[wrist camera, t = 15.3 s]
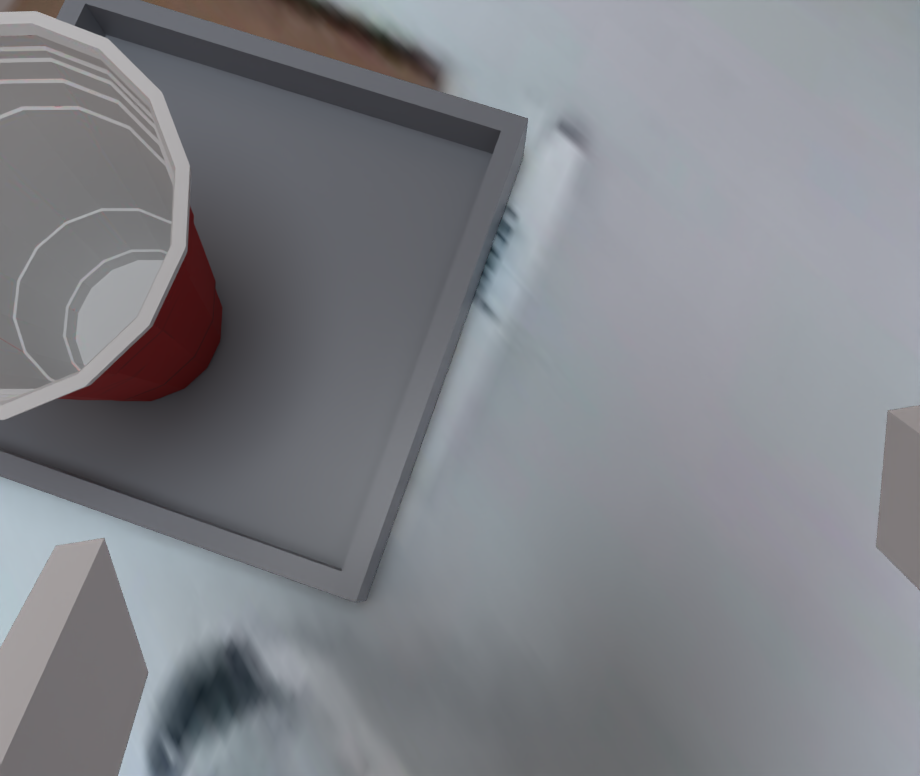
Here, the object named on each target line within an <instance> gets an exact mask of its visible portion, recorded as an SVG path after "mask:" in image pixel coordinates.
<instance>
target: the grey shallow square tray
mask: <svg viewBox="0 0 920 776" xmlns="http://www.w3.org/2000/svg"><path fill="white" fill-rule="evenodd" d="M56 19H58V20H60V21H63V22H66V23H68V24H71V25H74V26H76V27H79V28H81V29H84V30H87V31H89V32H92V33H95V34H97V35H100V36H102V37H105V38H108V39H109V40H110V41H111V42H112V43H113V44H114V45H115V46H116V47H117V48H118V49H119V50H120V51H121V52H122V53H123V54H124V55H125V56H126V57H127V58H128V59H129V60H130V61H131V62H132V63H133V64H134V65H135V66H136V67H137V68H138V69H139V70H140V71H141V72H142V73H143V74H144V75H145V76H146V77H147V78H148V79H149V80H150V81H151V82H152V83H153V84H154V85H155V86H156V87H157V88H158V89H159V90H160V91H161V92H162V93H163V96H164V99H165V101H166V104H167V107H168V109H169V112H170V115H171V117H172V120H173V122H174V125H175V128H176V130H177V133H178V136H179V138H180V141H181V144H182V146H183V149H184V152H185V154H186V157H187V159H188V162H189V165H190V169H191V173H192V174H191V193H190V207H191V209H192V212H193V215H194V224H195V227H196V230H197V232H198V235H199V238H200V240H201V243H202V245H203V248H204V251H205V254H206V256H207V259H208V262H209V265H210V267H211V270H212V273H213V276H214V278H215V281H216V287H215V288H216V291H217V294H218V297H219V299H220V302H221V305H222V323H221V338H220V343H219V345H218V347H217V349H216V351H215V353H214V355H213V357H212V359H211V361H210V363H209V365H208V367H207V369H206V370H205V371H203V372H202V373H201V374H200V375H199V376H198V377H197V378H196V379H195V380H194V381H192V382H191V383H190V384H189V385H188V386H187V387H186V388H185V389H182V390H180V391H177V392H174V393H172V394H169V395H167V396H164V397H162V398H159V399H156V400H153V401H113V400H72V399H55V400H53V401H50V402H48V403H45V404H43V405H41V406H38V407H36V408H33V409H31V410H28V411H26V412H23V413H21V414H19V415H16V416H14V417H11V418H8V419H5V420H0V476H1V477H4V478H7V479H10V480H13V481H15V482H18V483H21V484H24V485H27V486H29V487H32V488H35V489H38V490H41V491H43V492H46V493H49V494H52V495H55V496H58V497H60V498H63V499H66V500H69V501H72V502H74V503H77V504H80V505H83V506H86V507H88V508H91V509H94V510H97V511H100V512H102V513H105V514H108V515H111V516H114V517H116V518H119V519H122V520H125V521H128V522H130V523H133V524H136V525H139V526H142V527H145V528H147V529H150V530H153V531H156V532H159V533H161V534H164V535H167V536H170V537H173V538H175V539H178V540H181V541H184V542H187V543H189V544H192V545H195V546H198V547H201V548H203V549H206V550H209V551H212V552H215V553H218V554H220V555H223V556H226V557H229V558H232V559H234V560H237V561H240V562H243V563H246V564H248V565H251V566H254V567H257V568H260V569H262V570H265V571H268V572H271V573H274V574H276V575H279V576H282V577H285V578H288V579H290V580H293V581H296V582H299V583H302V584H305V585H307V586H310V587H313V588H316V589H319V590H321V591H324V592H327V593H330V594H333V595H335V596H338V597H341V598H344V599H347V600H349V601H352V602H355V603H356V602H361V601H366V599H367V596H368V593H369V590H370V588H371V585H372V582H373V579H374V576H375V573H376V571H377V568H378V565H379V562H380V559H381V557H382V554H383V551H384V548H385V545H386V542H387V540H388V537H389V534H390V531H391V528H392V526H393V523H394V520H395V517H396V514H397V511H398V509H399V506H400V503H401V500H402V497H403V495H404V492H405V489H406V486H407V483H408V480H409V478H410V475H411V472H412V469H413V466H414V463H415V461H416V458H417V455H418V452H419V449H420V447H421V444H422V441H423V438H424V435H425V432H426V430H427V427H428V424H429V421H430V418H431V416H432V413H433V410H434V407H435V404H436V401H437V399H438V396H439V393H440V390H441V387H442V385H443V382H444V379H445V376H446V373H447V370H448V368H449V365H450V362H451V359H452V356H453V353H454V351H455V348H456V345H457V342H458V339H459V337H460V334H461V331H462V328H463V325H464V322H465V320H466V317H467V314H468V311H469V308H470V306H471V303H472V300H473V297H474V294H475V291H476V289H477V286H478V283H479V280H480V277H481V275H482V272H483V269H484V266H485V263H486V260H487V258H488V255H489V252H490V249H491V246H492V243H493V241H494V238H495V235H496V232H497V229H498V227H499V224H500V221H501V218H502V215H503V212H504V210H505V207H506V204H507V201H508V198H509V196H510V193H511V190H512V187H513V184H514V181H515V179H516V176H517V173H518V170H519V167H520V165H521V162H522V159H523V156H524V148H525V140H526V132H527V124H528V118H525V117H522V116H518V115H515V114H512V113H508V112H505V111H502V110H499V109H495V108H492V107H489V106H485V105H482V104H479V103H476V102H472V101H469V100H466V99H462V98H459V97H456V96H453V95H449V94H446V93H443V92H439V91H436V90H433V89H430V88H426V87H423V86H420V85H416V84H413V83H410V82H407V81H403V80H400V79H397V78H393V77H390V76H387V75H384V74H380V73H377V72H374V71H370V70H367V69H364V68H361V67H357V66H354V65H351V64H347V63H344V62H341V61H338V60H334V59H331V58H328V57H324V56H321V55H318V54H315V53H311V52H308V51H305V50H301V49H298V48H295V47H292V46H288V45H285V44H282V43H278V42H275V41H272V40H269V39H265V38H262V37H259V36H255V35H252V34H249V33H246V32H242V31H239V30H236V29H232V28H229V27H226V26H223V25H219V24H216V23H213V22H209V21H206V20H203V19H200V18H196V17H193V16H190V15H186V14H183V13H180V12H177V11H173V10H170V9H167V8H163V7H160V6H157V5H154V4H150V3H147V2H144V1H140V0H65V2H64V4H63V6H62V8H61V10H60V12H59V14H58V16H57V18H56Z"/></svg>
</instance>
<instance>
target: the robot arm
mask: <svg viewBox="0 0 920 776" xmlns="http://www.w3.org/2000/svg"><path fill="white" fill-rule="evenodd" d="M876 547H877V548H878V549H879V550H880V551H881V552H882V553H883V554H884V555H885V556H886V557H887V558H888V559H889V560H890V561H891V562H892V563H893V564H894V565H895V566H896V567H897V568H898V569H899V570H900V571H901V572H902V573H903V574H904V575H905V576H906V577H907V578H908V579H909V580H910V581H911V582H912V583H913V584H914V585H915V586H916V587H917V588H918V589H919V590H920V405H919V406H913V407H907V408H900V409H894V410H888V414H887V425H886V437H885V448H884V460H883V471H882V483H881V494H880V506H879V517H878V529H877V540H876ZM147 676H148V670H147V667H146V664H145V661H144V658H143V654H142V651H141V648H140V645H139V642H138V639H137V636H136V633H135V630H134V627H133V624H132V621H131V618H130V615H129V612H128V609H127V606H126V603H125V600H124V597H123V593H122V590H121V587H120V584H119V581H118V578H117V575H116V572H115V569H114V566H113V563H112V560H111V557H110V554H109V551H108V548H107V545H106V542H105V539H104V538H101V539H94V540H88V541H82V542H76V543H70V544H64V545H58V546H55V548H54V550H53V552H52V553H51V555H50V557H49V559H48V561H47V563H46V564H45V566H44V568H43V570H42V572H41V574H40V576H39V577H38V579H37V581H36V583H35V585H34V587H33V588H32V590H31V592H30V594H29V596H28V598H27V600H26V601H25V603H24V605H23V607H22V609H21V611H20V612H19V614H18V616H17V618H16V620H15V622H14V624H13V625H12V627H11V629H10V631H9V633H8V635H7V636H6V638H5V640H4V642H3V644H2V646H1V648H0V776H118V774H119V770H120V767H121V763H122V760H123V757H124V753H125V750H126V747H127V743H128V740H129V736H130V733H131V730H132V726H133V723H134V720H135V716H136V713H137V709H138V706H139V703H140V699H141V696H142V693H143V689H144V686H145V682H146V679H147Z"/></svg>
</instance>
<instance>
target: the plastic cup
mask: <svg viewBox="0 0 920 776" xmlns="http://www.w3.org/2000/svg"><path fill="white" fill-rule="evenodd" d="M191 174H192V173H191V169H190V165H189V162H188V159H187V157H186V154H185V152H184V149H183V146H182V144H181V141H180V138H179V136H178V133H177V130H176V128H175V125H174V122H173V120H172V117H171V115H170V112H169V109H168V107H167V104H166V101H165V99H164V96H163V93H162V92H161V91H160V90H159V89H158V88H157V87H156V86H155V85H154V84H153V83H152V82H151V81H150V80H149V79H148V78H147V77H146V76H145V75H144V74H143V73H142V72H141V71H140V70H139V69H138V68H137V67H136V66H135V65H134V64H133V63H132V62H131V61H130V60H129V59H128V58H127V57H126V56H125V55H124V54H123V53H122V52H121V51H120V50H119V49H118V48H117V47H116V46H115V45H114V44H113V43H112V42H111V41H110V40H109V39H108V38H105V37H102V36H100V35H97V34H95V33H92V32H89V31H87V30H84V29H81V28H79V27H76V26H74V25H71V24H68V23H66V22H63V21H60V20H58V19H55V18H53V17H50V16H47V15H45V14H42V13H39V12H37V11H28V12H0V420H5V419H8V418H11V417H14V416H16V415H19V414H21V413H23V412H26V411H28V410H31V409H33V408H36V407H38V406H41V405H43V404H45V403H48V402H50V401H53V400H55V399H72V400H113V401H153V400H156V399H159V398H162V397H164V396H167V395H169V394H172V393H174V392H177V391H180V390H182V389H185V388H186V387H187V386H188V385H189V384H190V383H191V382H192V381H194V380H195V379H196V378H197V377H198V376H199V375H200V374H201V373H202V372H203V371H205V370H206V369H207V367H208V365H209V363H210V361H211V359H212V357H213V355H214V353H215V351H216V349H217V347H218V345H219V343H220V338H221V323H222V305H221V302H220V299H219V297H218V294H217V291H216V288H215V287H216V281H215V278H214V276H213V273H212V270H211V267H210V265H209V262H208V259H207V256H206V254H205V251H204V248H203V245H202V243H201V240H200V238H199V235H198V232H197V230H196V227H195V224H194V215H193V212H192V209H191V207H190V193H191Z"/></svg>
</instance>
